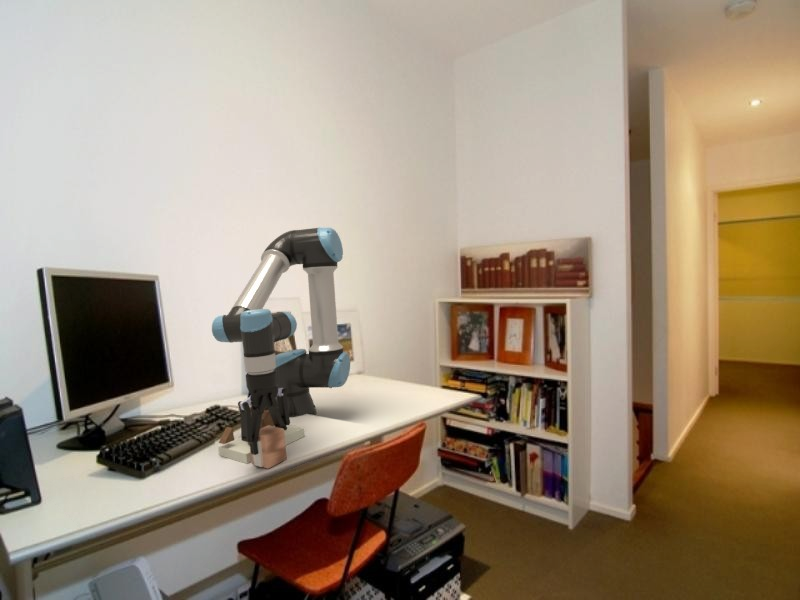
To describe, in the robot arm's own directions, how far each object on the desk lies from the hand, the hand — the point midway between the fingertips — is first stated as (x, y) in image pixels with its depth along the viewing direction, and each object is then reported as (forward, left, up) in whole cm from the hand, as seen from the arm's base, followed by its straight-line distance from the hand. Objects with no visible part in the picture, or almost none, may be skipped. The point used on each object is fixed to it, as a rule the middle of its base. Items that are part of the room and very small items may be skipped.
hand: (269, 459), depth 112 cm
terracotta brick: (0, 0, 0) cm, 0 cm away
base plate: (-7, -11, -1) cm, 13 cm away
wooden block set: (-5, -11, +2) cm, 12 cm away
